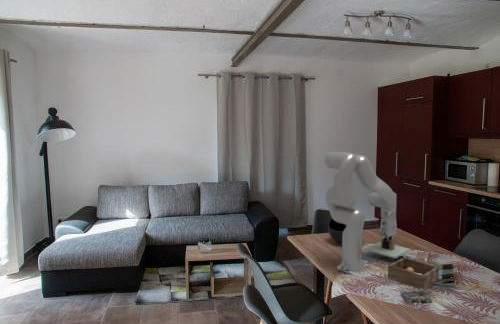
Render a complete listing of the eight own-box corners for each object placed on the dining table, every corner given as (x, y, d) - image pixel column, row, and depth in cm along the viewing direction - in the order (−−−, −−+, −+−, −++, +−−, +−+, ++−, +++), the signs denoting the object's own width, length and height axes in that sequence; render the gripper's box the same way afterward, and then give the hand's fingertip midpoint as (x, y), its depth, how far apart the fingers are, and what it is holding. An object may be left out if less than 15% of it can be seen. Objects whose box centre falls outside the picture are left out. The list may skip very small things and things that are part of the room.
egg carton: (425, 297, 138) (426, 288, 138) (433, 306, 131) (433, 296, 130) (399, 295, 140) (399, 286, 139) (404, 304, 132) (405, 294, 132)
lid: (395, 258, 170) (395, 247, 169) (365, 249, 182) (365, 239, 182) (410, 250, 180) (410, 240, 180) (380, 243, 193) (381, 233, 193)
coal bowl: (349, 237, 219) (350, 209, 218) (367, 247, 200) (368, 216, 199) (322, 240, 214) (322, 211, 213) (338, 250, 195) (338, 218, 194)
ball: (412, 277, 155) (412, 269, 155) (404, 274, 158) (404, 267, 158) (415, 275, 158) (415, 267, 157) (407, 272, 160) (408, 265, 160)
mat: (396, 269, 166) (396, 268, 166) (357, 257, 183) (357, 256, 183) (416, 259, 180) (416, 258, 180) (378, 248, 197) (378, 247, 197)
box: (423, 292, 142) (424, 276, 142) (387, 280, 154) (388, 265, 154) (438, 281, 152) (439, 267, 152) (403, 271, 165) (404, 257, 164)
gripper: (387, 218, 172) (386, 252, 173) (402, 213, 182) (401, 246, 184) (374, 215, 177) (373, 249, 179) (389, 211, 188) (388, 242, 189)
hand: (387, 247), depth 181 cm, fingers closed on lid, 3 cm apart
